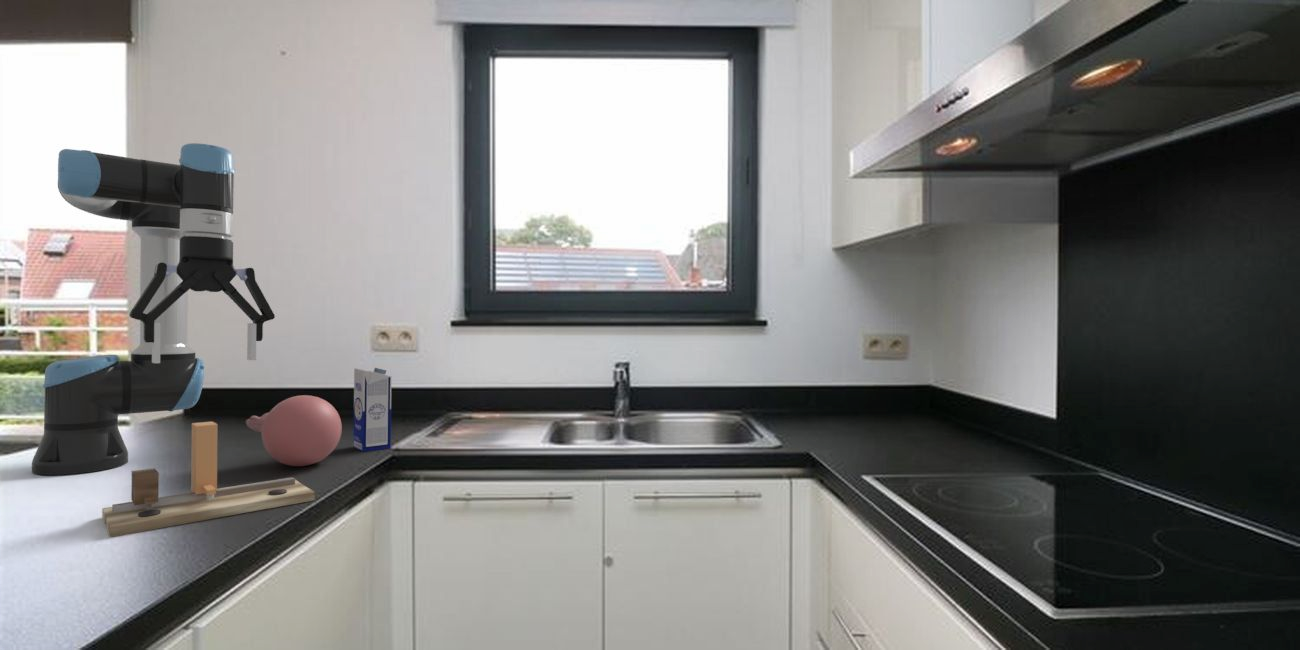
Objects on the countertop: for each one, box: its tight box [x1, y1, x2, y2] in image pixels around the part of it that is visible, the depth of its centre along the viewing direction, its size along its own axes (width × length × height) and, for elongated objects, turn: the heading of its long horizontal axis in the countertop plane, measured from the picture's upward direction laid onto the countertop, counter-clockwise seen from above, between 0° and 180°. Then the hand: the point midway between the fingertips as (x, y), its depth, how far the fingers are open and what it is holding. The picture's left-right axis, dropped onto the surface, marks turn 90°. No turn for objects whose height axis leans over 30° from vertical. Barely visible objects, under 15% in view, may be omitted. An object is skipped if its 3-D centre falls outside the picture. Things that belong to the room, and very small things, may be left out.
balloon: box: [245, 394, 343, 467], centre depth 139 cm, size 15×20×15 cm
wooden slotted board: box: [101, 467, 316, 538], centre depth 108 cm, size 12×28×7 cm, turn 135°
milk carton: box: [352, 367, 392, 452], centre depth 158 cm, size 7×7×20 cm
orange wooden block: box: [190, 421, 219, 501], centre depth 107 cm, size 8×3×12 cm, turn 45°
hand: (205, 361), depth 108 cm, fingers open, 13 cm apart
